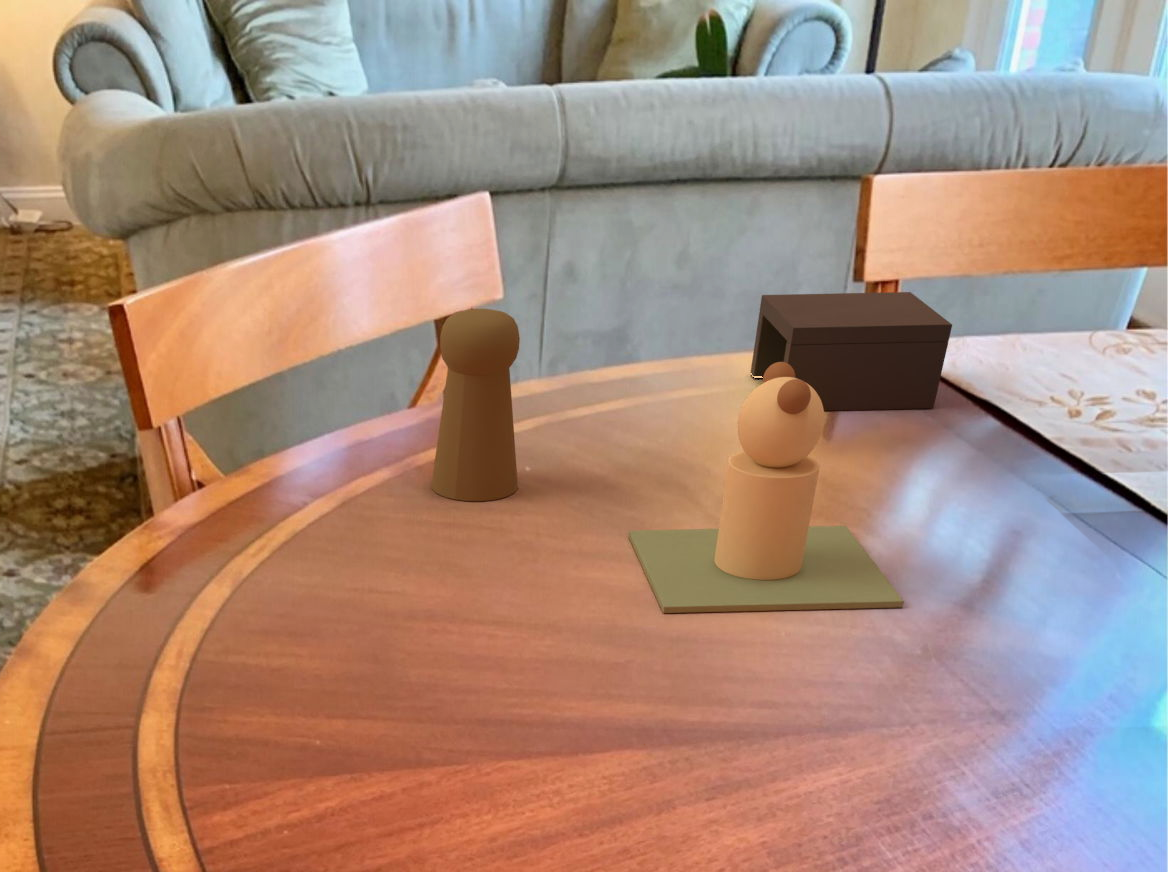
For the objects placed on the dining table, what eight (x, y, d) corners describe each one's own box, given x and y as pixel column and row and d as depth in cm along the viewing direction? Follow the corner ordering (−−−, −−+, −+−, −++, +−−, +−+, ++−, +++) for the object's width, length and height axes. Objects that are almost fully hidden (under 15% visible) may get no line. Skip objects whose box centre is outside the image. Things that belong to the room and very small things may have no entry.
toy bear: (789, 546, 92) (822, 357, 84) (811, 579, 88) (848, 383, 81) (706, 548, 92) (732, 359, 84) (724, 581, 88) (753, 385, 80)
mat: (844, 531, 94) (846, 525, 94) (902, 607, 85) (904, 600, 85) (628, 536, 94) (628, 530, 94) (663, 613, 85) (663, 606, 85)
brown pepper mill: (473, 465, 105) (479, 295, 98) (536, 486, 102) (547, 311, 94) (412, 485, 102) (414, 312, 95) (475, 507, 98) (481, 329, 91)
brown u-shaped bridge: (894, 371, 121) (910, 291, 118) (933, 408, 114) (952, 324, 110) (749, 374, 121) (761, 294, 117) (779, 412, 114) (793, 327, 110)
